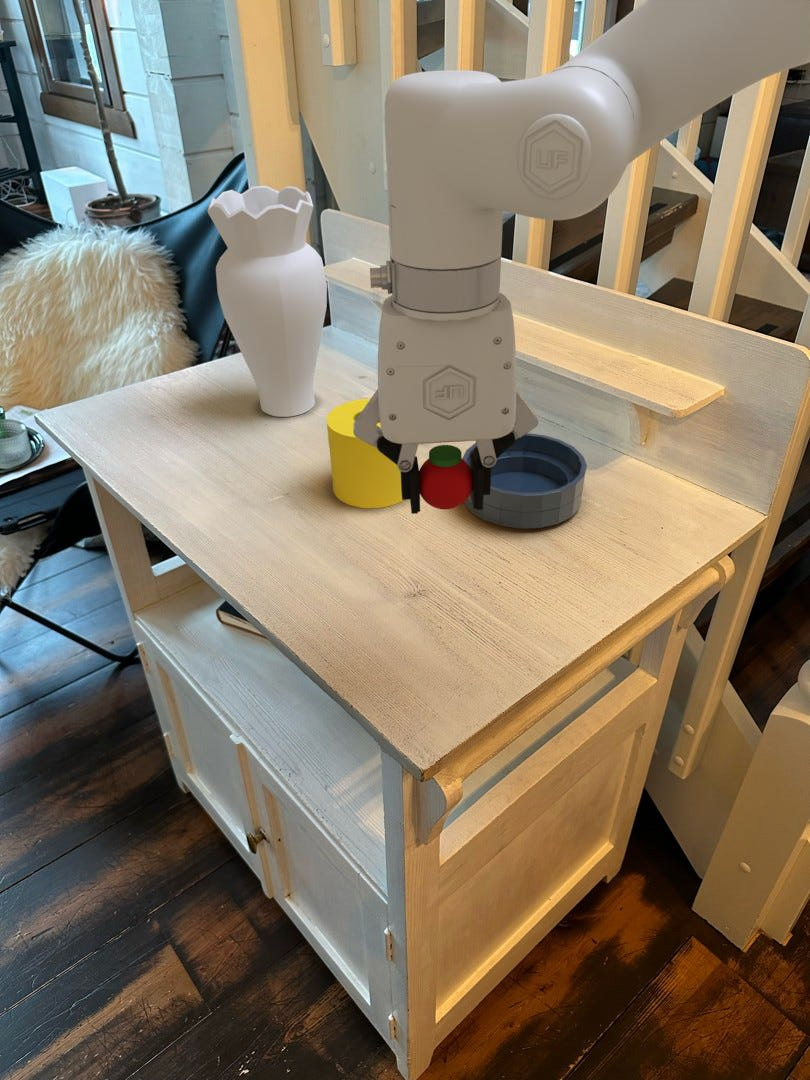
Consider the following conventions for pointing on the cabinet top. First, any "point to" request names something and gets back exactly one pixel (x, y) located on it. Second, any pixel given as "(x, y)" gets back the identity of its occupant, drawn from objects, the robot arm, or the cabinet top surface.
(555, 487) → the bowl
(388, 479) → the yellow toilet paper roll
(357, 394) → the cabinet top surface
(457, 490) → the toy tomato
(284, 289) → the vase
